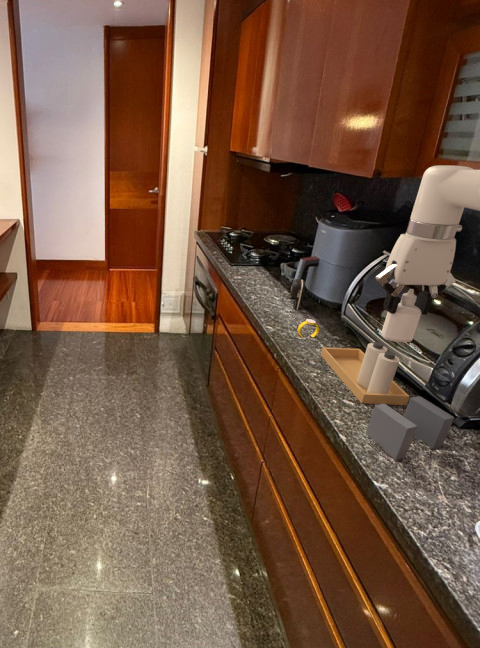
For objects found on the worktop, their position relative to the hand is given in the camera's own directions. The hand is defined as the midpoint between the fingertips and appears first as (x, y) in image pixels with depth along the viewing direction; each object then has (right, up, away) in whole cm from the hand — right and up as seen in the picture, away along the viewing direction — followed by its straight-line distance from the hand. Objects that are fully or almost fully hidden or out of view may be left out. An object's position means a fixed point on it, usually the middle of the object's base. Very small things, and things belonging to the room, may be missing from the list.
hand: (404, 310), depth 84 cm
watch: (-1, -11, +38) cm, 39 cm away
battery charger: (+4, -3, +56) cm, 57 cm away
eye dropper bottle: (0, -7, +3) cm, 7 cm away
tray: (+2, -19, +17) cm, 26 cm away
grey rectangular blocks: (-3, -27, -3) cm, 28 cm away
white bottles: (+1, -20, +12) cm, 24 cm away
